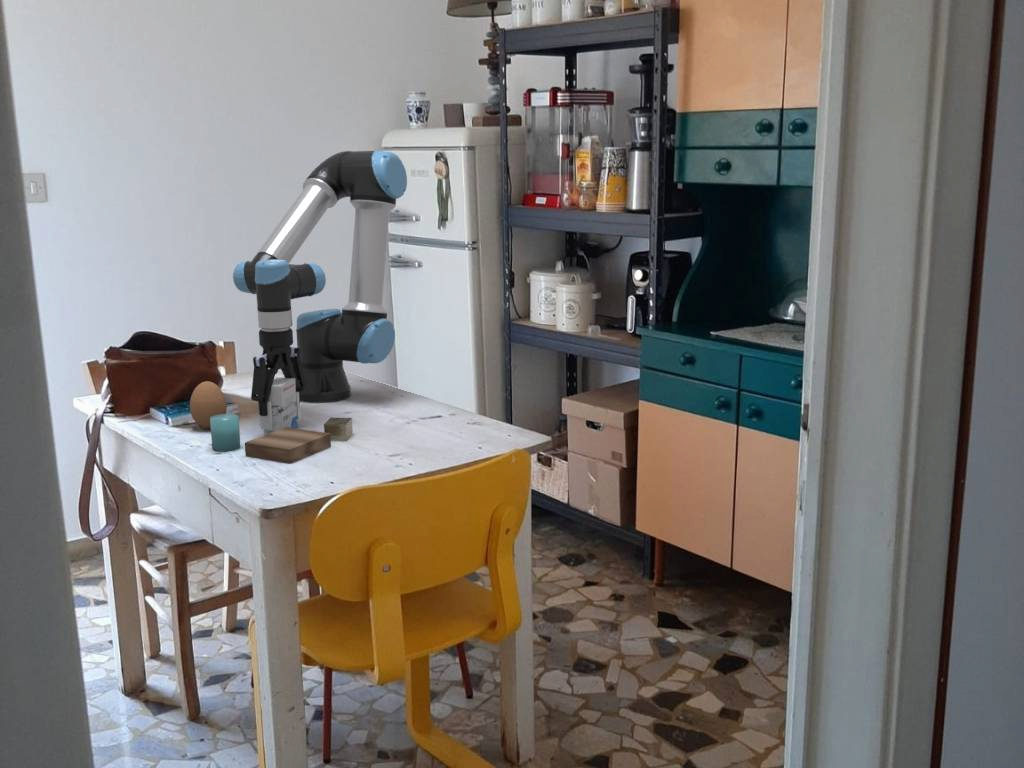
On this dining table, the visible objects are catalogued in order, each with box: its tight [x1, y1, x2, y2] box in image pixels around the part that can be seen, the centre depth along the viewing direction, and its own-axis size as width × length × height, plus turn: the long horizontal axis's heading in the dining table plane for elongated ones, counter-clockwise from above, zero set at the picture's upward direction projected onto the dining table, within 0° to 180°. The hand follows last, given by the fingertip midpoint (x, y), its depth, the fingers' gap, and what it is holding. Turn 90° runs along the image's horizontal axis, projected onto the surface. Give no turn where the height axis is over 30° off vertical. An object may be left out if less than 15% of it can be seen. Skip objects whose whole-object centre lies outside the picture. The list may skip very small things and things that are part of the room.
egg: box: [189, 380, 228, 430], centre depth 231 cm, size 8×8×11 cm
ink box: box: [263, 377, 298, 435], centre depth 228 cm, size 9×5×12 cm, turn 168°
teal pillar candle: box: [210, 413, 241, 453], centre depth 215 cm, size 6×6×7 cm
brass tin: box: [323, 417, 353, 442], centre depth 224 cm, size 6×5×4 cm
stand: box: [244, 427, 332, 464], centre depth 213 cm, size 14×12×3 cm
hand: (281, 423), depth 229 cm, fingers closed on ink box, 9 cm apart
